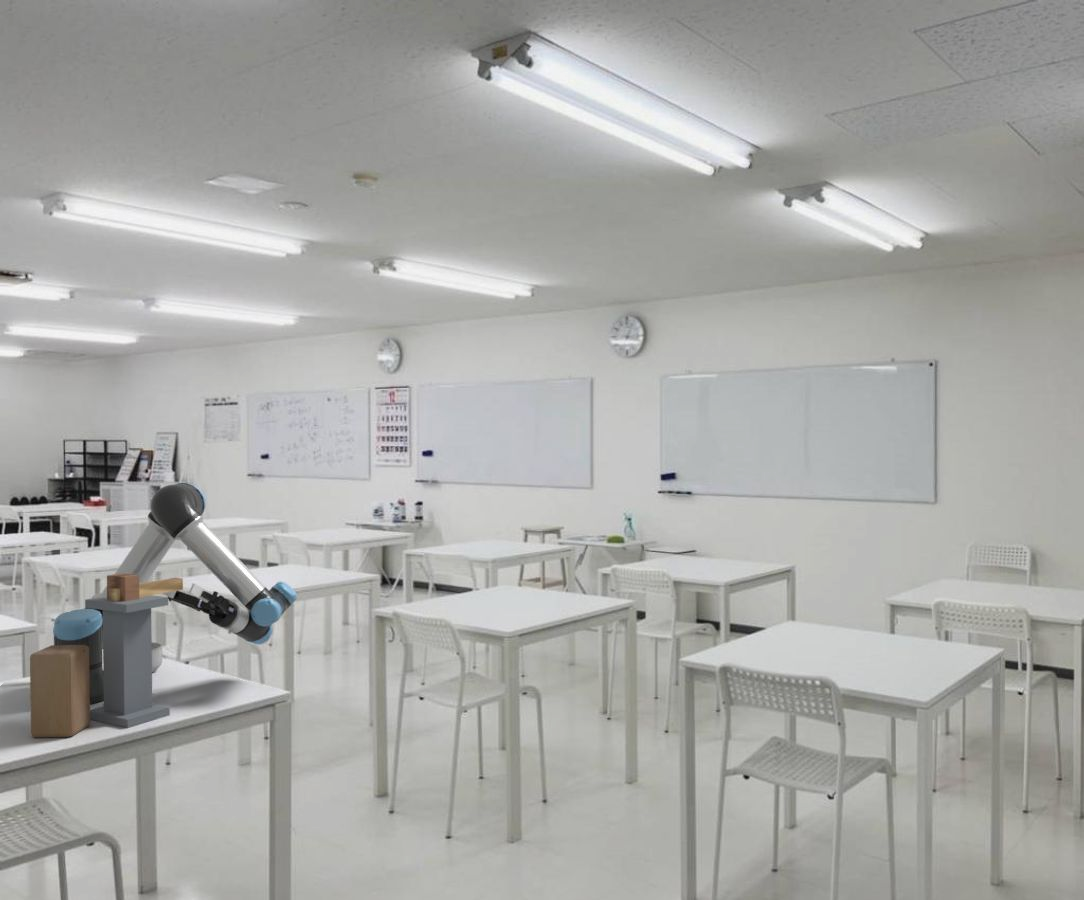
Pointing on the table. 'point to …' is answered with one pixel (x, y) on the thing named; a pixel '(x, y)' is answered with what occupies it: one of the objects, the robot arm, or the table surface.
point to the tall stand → (127, 661)
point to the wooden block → (59, 690)
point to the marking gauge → (138, 587)
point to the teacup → (156, 655)
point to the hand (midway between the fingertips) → (173, 586)
